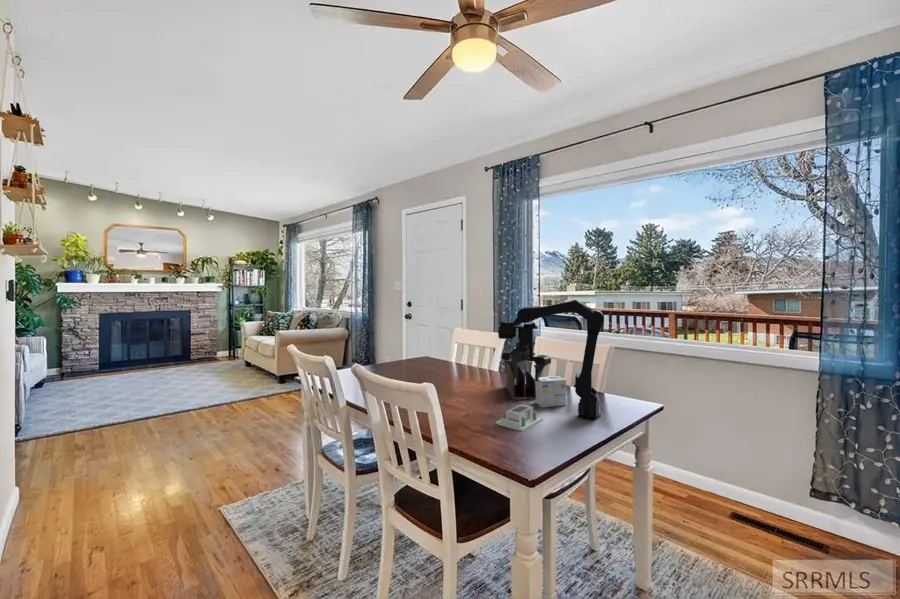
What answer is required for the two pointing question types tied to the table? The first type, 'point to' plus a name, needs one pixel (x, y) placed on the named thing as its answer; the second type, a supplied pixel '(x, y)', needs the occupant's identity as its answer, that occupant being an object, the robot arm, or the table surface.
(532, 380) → the letter holder
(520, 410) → the block
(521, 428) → the tray
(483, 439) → the table surface
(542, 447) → the table surface
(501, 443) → the table surface
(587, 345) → the robot arm
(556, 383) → the light bulb box
